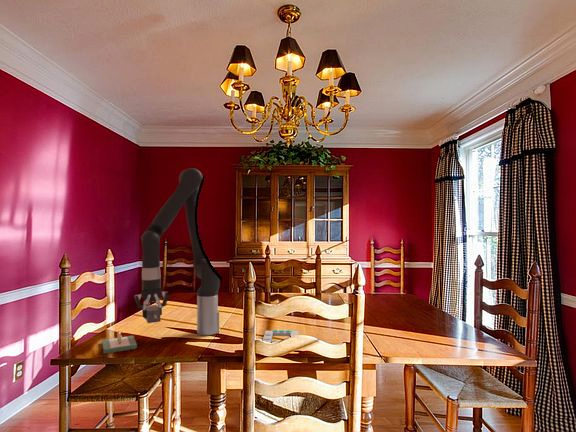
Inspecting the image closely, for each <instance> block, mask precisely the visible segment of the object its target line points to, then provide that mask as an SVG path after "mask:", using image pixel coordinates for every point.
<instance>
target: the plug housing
mask: <svg viewBox="0 0 576 432" xmlns="http://www.w3.org/2000/svg"><path fill="white" fill-rule="evenodd" d="M146 317H147V318H146V319H145V321H146V323H147V324H153V323H154V324H155V323H160V322H161V315H160V309H159V307H158V305H157V304H152V305H147V307H146Z"/></svg>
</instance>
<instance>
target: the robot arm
mask: <svg viewBox="0 0 576 432" xmlns="http://www.w3.org/2000/svg"><path fill="white" fill-rule="evenodd" d="M202 181H203V174H202V172H201V171H200V170H198V169H197V168H194V167H191V168H186V169H185V170H182V171H181V172H180V173H179V175H178V183H179V184H178V185H177V188H175V191H174V192H173V193H172V194H171V196H170V197H169V198H168V199H167V201H166V202H165V203H164V204H162V205H163V206H162V207H161V208H160V209H159V211H158V213H157V214H156V215H155V217H154V218H153V220H152V222H151V223H150V224H149V225H148V226H147V228H146V230H145V231H144V232H143V233H142V235H141V239H140V240H141V244H142V256H141V258H142V259H141V263H142V264H141V270H142V271H141V293H140V294H134V299H135V303H136V306H137V308H138V310H142V318H144V319H145V320H146V318H147V317H146V307H147V306H149V303H152V302H154V303H156V305H157V306H158V307H159V309H160V316H162V315H163V309H162V308H164V307H166V306H167V302H168V298H169V292H168V291H167V290H166V291H162V290H163V289H162V283H161V282H162V280H161V279H162V275H161V272H162V271H161V267H160V266H161V265H160V263H161V262H160V260H161V259H160V248H161V240H160V239H161V237H162V236H163V234H164V233H165V232H166V230H168V228H169V227H170V225H171V224H172V223H173V221H174V220H175V218H176V217H177V215H179V214H178V213H179V212H180V210H181V209H182V207H183V206H184V207H185V208H184V209H185V215H186V223H187V228H188V233H189V237H190V243H191V247H192V254H193V256H192V257H193V267H194V268H193V269H194V273H195V276H196V277H197V278H198V279H200V286H199V288H198V289H197V291H196V293H197V294H196V296H197V297H196V306H197V307H196V309H197V310H196V311H197V312H196V316H197V317H196V320H197V321H196V323H197V324H196V326H197V327H196V334H198V335H200V336H212V335H215V334H218V333H220V311H218V309H219V306H218V303H219V294H218V293H219V289H220V287H221V286H220V285H221V283H220V282H221V278H220V277H219V276H218V275H217V274H216V272H215V271H214V270H213V269H212V267H211V266H210V264H209V262H208V260H207V258H206V256H205V255H204V253H203V251H202V248H201V244H200V241H199V238H198V234H197V226H196V206H197V198H198V194H199V191H200V187H201V184H202ZM161 296H162V297H163V299H162V303H161V301H160V297H161ZM141 297H142V298H143V299H144V301H143V305H141V302H140V300H141Z"/></svg>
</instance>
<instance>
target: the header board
mask: <svg viewBox="0 0 576 432" xmlns="http://www.w3.org/2000/svg"><path fill="white" fill-rule="evenodd" d="M101 344H102V352H103V355H104V354H111V352H112V353H118V352H123V351H124V350H125V351H129V350H130V349H131V350H137V349H138V343H137V341H136V340H135V337H134V335H127V336H121V344H118V341H117V337H112V338H106V339H102V340H101ZM136 348H137V349H136ZM117 351H118V352H117Z"/></svg>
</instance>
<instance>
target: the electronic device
mask: <svg viewBox="0 0 576 432" xmlns="http://www.w3.org/2000/svg"><path fill="white" fill-rule="evenodd" d="M293 335H298V336H299V330H290V329H289V330H284V329H281V330H277V329H275V330H274V329H273V330H265V332H264V335H263V338H262V341H266V342H278V341H279V340H277V341H276V340H273V338H274V337H273V336H293Z"/></svg>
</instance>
